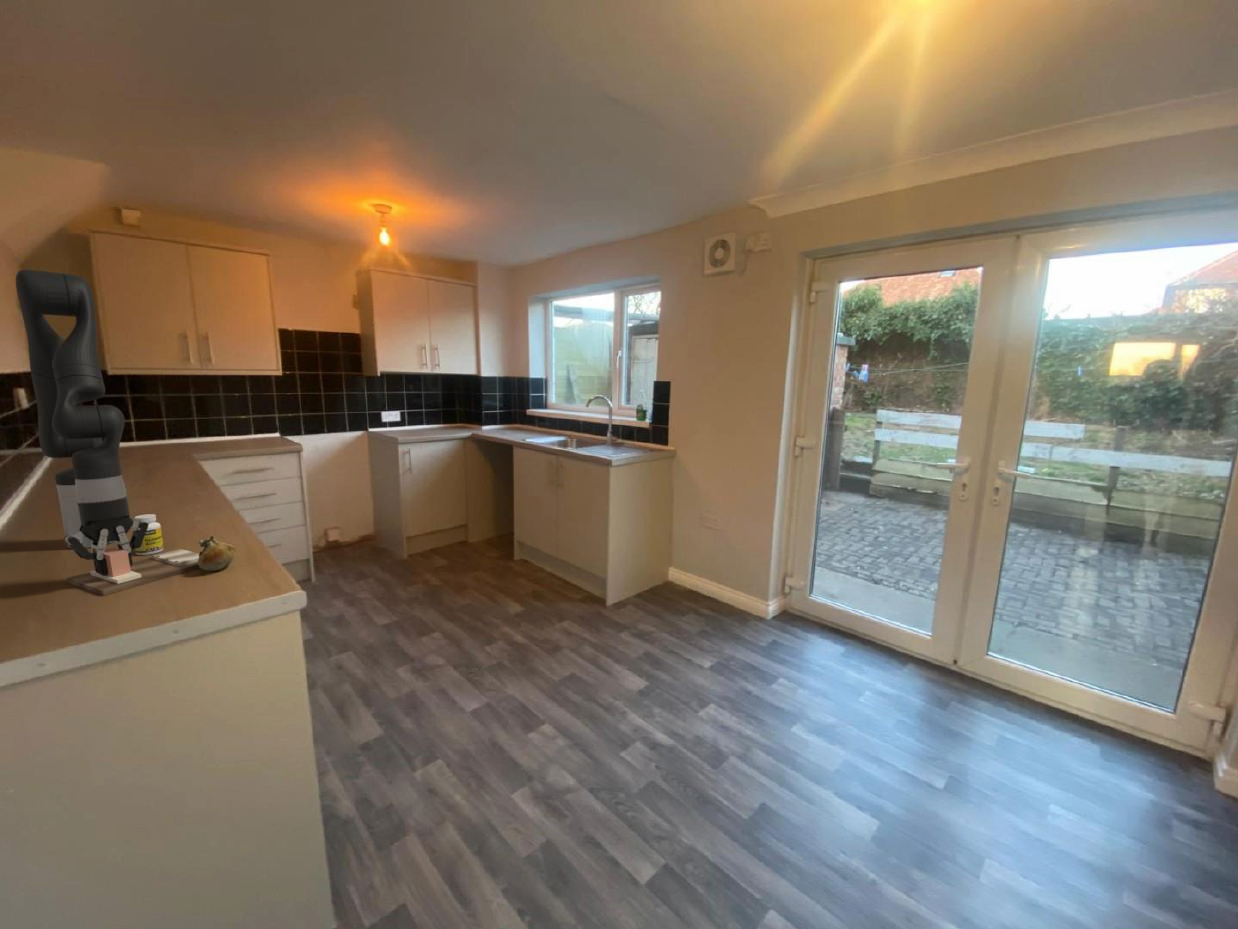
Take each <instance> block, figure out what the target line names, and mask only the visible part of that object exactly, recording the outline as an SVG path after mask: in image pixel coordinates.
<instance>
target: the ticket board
mask: <svg viewBox="0 0 1238 929" xmlns="http://www.w3.org/2000/svg"><path fill="white" fill-rule="evenodd" d="M199 554H200V553H198V552H194V551H190V550H186V549H181V548H178V549H174V550H170V551H166V552H162V553H161V552H160V553H158V554H157V553H156V554H152V556H149V557H145V558H142V559H138V560H132V566H130V570H131V571H133V572H136V573H140V574H141V578H137V579H133V580H130V581H126V582H123V583H119V584H117V583H114V582H111V581H108V580H105V579H102V578H99V577H96V576H93V575H90V572H85V573H82V574H79V575H73V576H70V577H67V578H66V580H67V583H68V584H70V585H74V586H76V587H78V588H79V587H80V588H82V589H84V590H87V589H88V591H89V592H93V593H95V594H99V595H101V596H108V595H111V594H115V593H117V592H122V591H125V590H128V589H132V588H135V587H139V586H142V585H146V584H149V583H153V582H156V581H159V580H163V579H166V578H170V577H173V576H177V575H180V574H184V573H187V572H190V571H193V570H197V569H201V568H200V567H199V565H198V559H199Z"/></svg>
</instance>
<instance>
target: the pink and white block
mask: <svg viewBox="0 0 1238 929" xmlns="http://www.w3.org/2000/svg"><path fill="white" fill-rule="evenodd" d="M104 559H106V562H107V568H108V575H104V576H103V575H100V574H99V573H97V572H96V571H95V569H94V570H89V573H90V575H93V576H96V577H99V578H102V579H105V580H108V581H111V582H114V583H117V584H119V583H123V582H126V581H130V580H133V579H137V578H141V574H140V573H136V572H133V571H131V570H130V563H129V557H128V551H124V550H121V549H118V547H111V548H106V549H105V553H104Z"/></svg>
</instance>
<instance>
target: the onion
mask: <svg viewBox="0 0 1238 929" xmlns="http://www.w3.org/2000/svg"><path fill="white" fill-rule="evenodd" d="M198 544H199V546H200V547H201V548H203V550H202V551H199V553H198V554H199V559H198V565H199V567H200V568H199V569H201V570H202V571H206V572H215V571H216V572H217V570H218V571H222V570H225V569H226V568H228V567H229V566H230V565H231V564H232V563H233V561H234V560H235V559H236V556H237V549H236V547H235V546H234V545H233V544H231V543H228V542H227V543H226V542H222V541H218V540H217V539H216V536H213V535H210V536H209V537H207V538H205V539H204V540H202V539H200V540H199V541H198Z"/></svg>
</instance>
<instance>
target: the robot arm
mask: <svg viewBox="0 0 1238 929" xmlns="http://www.w3.org/2000/svg"><path fill="white" fill-rule="evenodd" d="M15 289H16V293H17V299H18V302H19V306H20V311H21V315H22V320H23V324H24V328H25V332H26V337H27V344H28V345H27V346H28V356H29V369H30V374H31V381H32V386H33V390H34V395H35V399H36V405H37V406H36V407H37V424H38V439H39V446H40V449H41V451H42V453H43V454H44V455H45V456H46V457H48V458H50V459H66V458H68V459H69V458H71V464H72V467H71V468H68V469H67V468H66V469H65V470H61V471H59V472H57V473H56V474H55V475H54V480H55V484H56V490H57V491H56V492H57V496H58V501H59V505H60V512H61V517H62V523H63V529H64V535H65V536H64V537H63V541H64V542H65V543H66V545H67V548H68V549H72V551H73V552H75V554H76V555H77V556H78V557H79V558H81V559H83V560H85V561H86V560H87V561H89V560H93V566H94V570H95V571H96V572H97V573H99V574H100V575H103V576H104V575H108V568H107V562H106V559H104V553H105V549H107V545H108V544H111V543H114V544H116V548H117V549H121V550H124V551H128V557H129V563H130V566H132V562H133V558H132V551H135V549H136V548H140V547H141V544H142V542H143V539H144V536H145V534H146V531H147V528H148V525H149V524H148V523H146V522H142V521H139V522H135V520H133V519H132V517H131V516H130V509H129V502H128V496H127V493H128V492H127V489H126V483H125V481H124V479H123V475H122V468H121V462H120V446H121V445H120V444H121V440H122V436H123V432H124V429H125V422H126V421H125V416H124V414H123V412H122V410H120V409H119V408H118V407H117V406H114V405H111V404H110V405H109V404H101V405H100V404H97V405H96V404H93V405H78V404H81V403H85V402H86V403H87V402H91V401H94V400H95V401H96V400H98V399H100V398H103V397H104V395H105V393H106V387H105V386H106V385H105V383H104V382H105V381H104V378H103V374H102V371H101V366H100V362H99V354H98V334H97V332H98V331H97V322H96V311H95V301H94V295H93V292H92V289H91V286H90V284H89V282H88V280H87V279H86V278H84V277H82V276H80V275H75V274H70V273H64V272H63V273H62V272H55V271H47V270H38V269H37V270H36V269H20V270H19V271H17V273H16V275H15ZM47 315H49V316H59V317H72V318H73V317H75V324H74V327H73V329H72V330H71V332H70V334H68V336H67V337H66V339H64V338H63V337H62V336H61V335H59V334H58V332H57V331H55V329H54V328H53V327H52V326H51V325H50V323H49V322H48V320H47V319H46V317H45V316H47ZM102 439H103V440H102ZM130 529H131V530H132V529H133V530H134V532H132V535H131V537H130V540H129V538H128V536H127V534H128V533H129V530H130ZM87 548H91V552H90V551H89V550H88V549H87Z"/></svg>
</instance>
